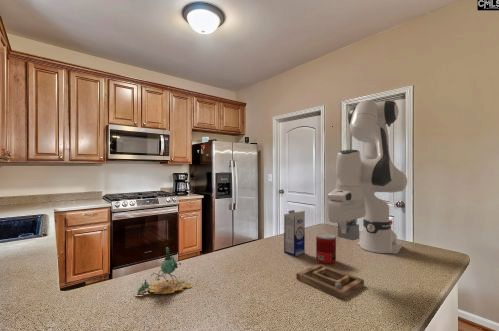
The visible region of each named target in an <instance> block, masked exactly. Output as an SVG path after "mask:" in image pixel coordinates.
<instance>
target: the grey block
mask: <svg viewBox="0 0 499 331" xmlns="http://www.w3.org/2000/svg"><path fill="white" fill-rule="evenodd" d="M346 228H348V233H346V234H343V233H341V227H340V225H339V223H337V237H338V238H341V239H346V240H350V241H355V240H360V224H358V223H357V224H356V222H352V221H350V220H349V221H347V224H346Z"/></svg>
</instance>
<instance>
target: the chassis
mask: <svg viewBox="0 0 499 331" xmlns="http://www.w3.org/2000/svg"><path fill="white" fill-rule="evenodd" d="M295 275H296V277H295V278H296V280H297V281H299V282H302V283H304V284H307V285H309V286H311V287H313V288H315V289H318V290H319V291H322V292H325V293H327V294H329V295H331V296H333V297H336V298H338V299H340V300H344V298H347V297H348V296H349V295H351V294H353V293H354V292H356V291H357V290H359V289H361V288H362V287H364V286H365V280H364V279H363V278H360V277H358V276H354V275H352V274H349V273H346V272H343V271H341V270H337V269H335V268H332V267H330V266H326V265H325V264H322V263H317V265H314V266H311V267H309V268H307V269H304V270H301V271H299V272H296V274H295Z"/></svg>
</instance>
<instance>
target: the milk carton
mask: <svg viewBox="0 0 499 331" xmlns="http://www.w3.org/2000/svg"><path fill="white" fill-rule="evenodd" d="M283 216H284V217H283V235H284V236H283V253H284V254H287V255H289V256H293V257H295V258H296V257H298V256H301V255H304V254H305V252H306V251H305V250H306V246H305V245H306V244H305V243H306V242H305V240H306V237H305V233H306V232H305V231H306V230H305V229H306V228H305V224H306V222H305V221H306V219H305V218H306V214H305V210H301V211H295V210H294V209H292V210H289V211H288V213H285V214H284V215H283Z"/></svg>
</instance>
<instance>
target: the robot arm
mask: <svg viewBox="0 0 499 331" xmlns="http://www.w3.org/2000/svg"><path fill="white" fill-rule="evenodd" d="M399 112H400V111H399V107H398V105H397V103H396V102H395V100H385V101H373V100H368V99H367V100H362V101H360V102H359V103H358V104H357V105H356V106H353V107H351V108H350V109H349V111H348V112H347V121H348V124H349V131H350V134H351V136H352V137H354V139H356V140H357V141H359V142H362V143H363V144H364V145H363V146H364V147H363V156H364V159H362V157H361V152H360V151H359V150H358V149H343V150H340V151H338V152H337V156H336V159H335V160H336V161H335V176H336V182H335V188H334V189H333V190H332V191H330V192H328V194H327V200H328V205H327V206H328V209H327V211H328V212H327V214H328V217H327V218H328V219H329V220H328V221H329V222H332V223H335V224H338V223H339V225H340V227H341V233H343V234H346V233H348V228H346V224H347V221H352V222H356V224H358V219H361V218H363V221H362V223H363V227H362V228H361V229H360V234H359V241H357V245H358V246H360V248H361V249H363V250H366V251H368V252H373V253H378V254H395V255H397V254H398V253H399V252H400V250H401V249H402V248H403V244H401V243H398V236H397V234H396V232H394V231H393V230H392V225H393V220H390V205H389V204H388V203H387V202H386V201H385V200H383V199H380V198H378V197H377V196H376V194H375V193H399V192H403V191H404V190H405V189H406V187H407V185H408V179H407V176H406V174H405V173H404V172H403V171H402V170H400V169H398V168H397V167H396V166H395V165H394V162H393V161H392V159H391V156H390V143H389V142H390V139H389V138H390V137H389V131H388V128H390V127H391V125H392V124H394V123H395V121H396V120H397V119H398V116H399Z"/></svg>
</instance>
